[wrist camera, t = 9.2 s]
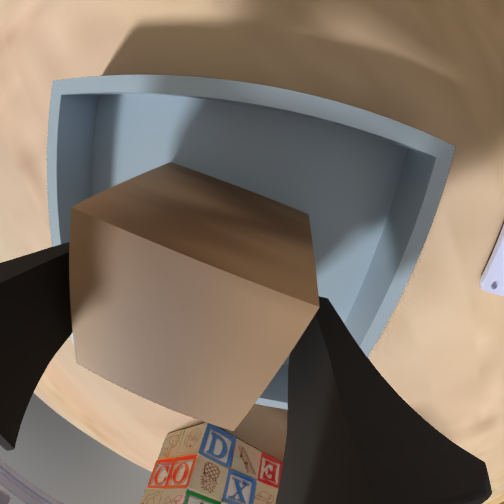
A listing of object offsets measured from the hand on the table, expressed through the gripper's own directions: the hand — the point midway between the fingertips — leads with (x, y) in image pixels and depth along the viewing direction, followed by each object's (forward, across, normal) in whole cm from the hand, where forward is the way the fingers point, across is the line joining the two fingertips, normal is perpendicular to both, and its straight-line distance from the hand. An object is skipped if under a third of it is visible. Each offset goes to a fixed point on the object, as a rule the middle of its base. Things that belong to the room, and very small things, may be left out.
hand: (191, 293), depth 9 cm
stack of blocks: (+4, -8, +23) cm, 25 cm away
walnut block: (+3, 0, 0) cm, 4 cm away
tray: (+4, 0, 0) cm, 4 cm away
